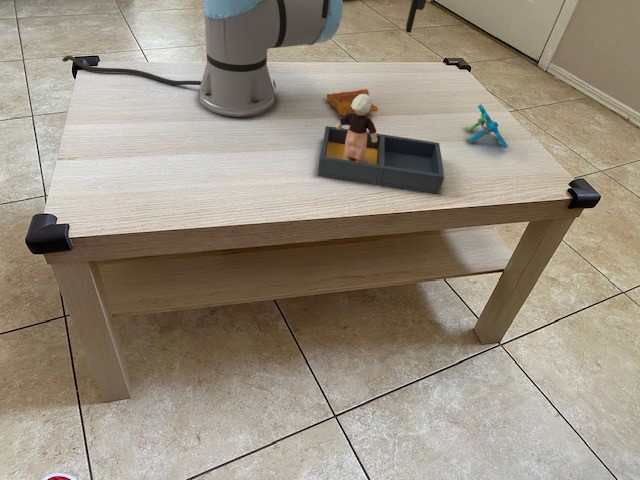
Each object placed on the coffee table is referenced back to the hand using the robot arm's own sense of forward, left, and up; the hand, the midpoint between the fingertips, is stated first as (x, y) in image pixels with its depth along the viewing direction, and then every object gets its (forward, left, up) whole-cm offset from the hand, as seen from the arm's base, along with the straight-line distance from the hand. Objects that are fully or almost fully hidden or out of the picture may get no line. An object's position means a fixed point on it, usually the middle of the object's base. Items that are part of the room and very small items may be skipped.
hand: (366, 22), depth 77 cm
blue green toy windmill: (+28, +9, -23) cm, 38 cm away
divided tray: (+6, -6, -23) cm, 24 cm away
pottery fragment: (0, +15, -23) cm, 27 cm away
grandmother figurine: (+1, -6, -22) cm, 23 cm away
